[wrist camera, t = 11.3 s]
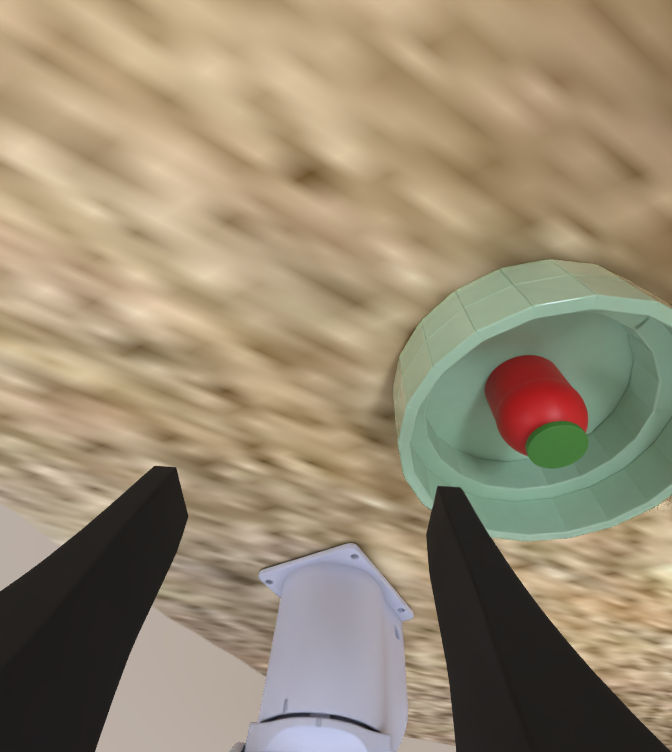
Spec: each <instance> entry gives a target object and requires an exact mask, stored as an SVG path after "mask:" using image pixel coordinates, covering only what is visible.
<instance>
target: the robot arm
mask: <svg viewBox="0 0 672 752" xmlns="http://www.w3.org/2000/svg"><path fill="white" fill-rule="evenodd" d="M187 519H188V513H187V509H186V505H185V501H184V497H183V493H182V489H181V485H180V481H179V477H178V473H177V469H176V467H163V466H154V467H153V468H152V469H151V470H149V471H148V472H147V473H146V474H145V475H144V476H142V477H141V478H140V479H139V480H138V481H137V482H136V483H135V484H133V485H132V486H131V487H130V488H129V489H128V490H127V491H126V492H124V493H123V494H122V495H121V496H120V497H119V498H118V499H117V500H115V501H114V502H113V503H112V504H111V505H110V506H109V507H108V508H106V509H105V510H104V511H103V512H102V513H101V514H99V515H98V516H97V517H96V518H95V519H94V520H92V521H91V522H90V523H89V524H88V525H87V526H85V527H84V528H83V529H82V530H81V531H79V532H78V533H77V534H76V535H75V536H73V537H72V538H71V539H70V540H68V541H67V542H66V543H65V544H63V545H62V546H61V547H60V548H58V549H57V550H56V551H55V552H53V553H52V554H51V555H50V556H48V557H47V558H46V559H44V560H43V561H42V562H41V563H39V564H38V565H37V566H35V567H34V568H33V569H31V570H30V571H29V572H27V573H26V574H24V575H23V576H22V577H20V578H19V579H18V580H16V581H14V582H13V583H12V584H10V585H9V586H8V587H6V588H5V589H3V590H2V591H0V752H95V750H96V747H97V744H98V741H99V738H100V735H101V732H102V729H103V726H104V723H105V721H106V718H107V715H108V712H109V709H110V706H111V703H112V700H113V697H114V695H115V692H116V689H117V687H118V684H119V681H120V679H121V676H122V673H123V670H124V668H125V665H126V662H127V660H128V657H129V654H130V652H131V650H132V647H133V645H134V643H135V640H136V638H137V636H138V633H139V631H140V629H141V627H142V625H143V623H144V621H145V619H146V616H147V615H148V612H149V610H150V608H151V606H152V604H153V602H154V600H155V598H156V596H157V593H158V591H159V589H160V587H161V585H162V583H163V581H164V579H165V576H166V574H167V572H168V570H169V568H170V566H171V563H172V561H173V559H174V557H175V555H176V552H177V549H178V547H179V544H180V541H181V538H182V535H183V532H184V529H185V525H186V522H187ZM426 536H427V550H428V562H429V573H430V579H431V584H432V590H433V595H434V600H435V606H436V611H437V616H438V622H439V627H440V632H441V637H442V643H443V648H444V653H445V659H446V664H447V671H448V677H449V684H450V693H451V703H452V712H453V722H454V731H455V742H456V752H671V751H670V750H669V749H668V748H667V747H666V746H665V745H664V744H663V743H662V742H661V741H660V740H659V739H658V738H657V737H656V736H655V735H654V734H653V733H652V732H651V731H650V730H649V729H648V728H647V727H646V726H645V725H644V724H643V723H642V722H641V721H640V720H639V719H638V718H637V717H636V716H635V715H634V714H633V713H632V712H631V711H630V710H629V709H628V708H627V707H626V706H625V704H624V703H623V702H622V701H621V700H620V699H619V698H618V697H617V696H616V695H615V694H614V693H613V692H612V691H611V690H610V689H609V688H608V686H607V685H606V684H605V683H604V682H603V681H602V680H601V679H600V678H599V677H598V676H597V675H596V674H595V673H594V672H593V670H592V669H591V668H590V667H589V666H588V665H587V664H586V662H585V661H584V660H583V659H582V658H581V657H580V656H579V654H578V653H577V652H576V651H575V650H574V649H573V647H572V646H571V645H570V644H569V643H568V642H567V640H566V639H565V638H564V637H563V636H562V634H561V633H560V632H559V631H558V629H557V628H556V627H555V626H554V625H553V623H552V622H551V621H550V620H549V618H548V617H547V616H546V615H545V613H544V612H543V611H542V609H541V608H540V607H539V606H538V604H537V603H536V602H535V600H534V599H533V598H532V596H531V595H530V594H529V592H528V591H527V589H526V588H525V587H524V585H523V584H522V583H521V581H520V580H519V578H518V577H517V576H516V574H515V573H514V571H513V570H512V568H511V567H510V565H509V564H508V563H507V561H506V560H505V558H504V557H503V555H502V554H501V552H500V551H499V549H498V548H497V546H496V545H495V543H494V541H493V540H492V538H491V537H490V535H489V534H488V532H487V530H486V529H485V527H484V525H483V524H482V522H481V520H480V519H479V517H478V515H477V514H476V512H475V510H474V509H473V507H472V505H471V503H470V502H469V500H468V498H467V496H466V494H465V493H464V491H463V490H462V489H461V487H450V486H437V490H436V494H435V499H434V503H433V507H432V512H431V516H430V521H429V525H428V530H427V534H426ZM258 578H259V579H260V580H261V581H262V582H263V583H264V584H265V585H266V586H267V587H268V588H270V589H271V590H272V591H273V592H274V593H275V594H276V595H277V596H278V597H279V598H280V605H279V610H278V616H277V621H276V626H275V632H274V637H273V643H272V648H271V653H270V659H269V664H268V670H267V675H266V681H265V686H264V691H263V697H262V702H261V708H260V713H259V719H258V723H255V722H251V723H250V725H249V730H248V736H247V741H246V743H241V742H238V743H236V744H235V745H234V746H233V747H232V749H231V750H230V752H396V751H397V750H398V748H399V746H400V744H401V741H402V739H403V736H404V734H405V730H406V725H407V720H408V698H407V684H406V669H405V654H404V639H403V625H402V621H407V620H410V619H412V618H413V611H412V609H411V608H410V607H409V606H408V605H407V604H406V602H405V601H404V600H403V599H402V598H401V596H400V595H399V594H398V593H397V592H396V591H395V589H394V588H393V587H392V586H391V585H390V583H389V582H388V581H387V580H386V579H385V578H384V576H383V575H382V574H381V573H380V572H379V570H378V569H377V568H376V567H375V566H374V565H373V563H372V562H371V561H370V560H369V559H368V557H367V556H366V555H365V554H364V553H363V552H362V550H361V549H360V548H359V547H358V546H357V545H356V544H354V543H347V544H344V545H341V546H337V547H334V548H331V549H328V550H325V551H321V552H318V553H315V554H312V555H308V556H305V557H302V558H299V559H295V560H292V561H289V562H286V563H282V564H279V565H276V566H273V567H269V568H266V569H263V570H261V571H260V572H259V576H258Z"/></svg>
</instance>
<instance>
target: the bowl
mask: <svg viewBox="0 0 672 752" xmlns="http://www.w3.org/2000/svg"><path fill="white" fill-rule="evenodd" d="M523 355H535V356H540V357H543V358H546V359H548V360H550V361H551V362H552V363H554V364H555V365H556V367H557V368H558V369H559V371H560V372H561V373H562V374H563V376H564V377H565V378H566V380H567V381H568V382H569V384H570V385H571V386H572V387H573V388H574V389H575V390H576V391H577V392H578V393H579V394H580V396H581V397H582V399H583V400H584V402H585V405H586V407H587V411H588V428H587V431H586V435H587V436H588V440H589V445H588V449H587V451H586V452H585V454H584V455H583V456H582V457H581V458H580V459H579V460H578V461H576V462H575V463H573V464H571V465H568V466H566V467H562V468H556V469H548V468H542V467H539V466H537V465H535V464H534V463H533V462H532V461H531V460H530V459H529V457H528V456H525V455H523V454H520V453H519V452H517V451H515V450H514V449H513V448H511V447H510V446H509V445H508V444H507V443H506V442H505V441H504V439H503V438H502V436H501V435H500V433H499V431H498V428H497V425H496V421H495V418H494V416H493V414H492V411H491V409H490V407H489V404H488V402H487V400H486V397H485V385H486V382H487V380H488V377H489V376H490V374H491V373H492V372H493V371H494V369H496V368H497V367H498V366H499V365H500V364H502V363H503V362H505V361H507V360H509V359H511V358H514V357H518V356H523ZM393 399H394V410H395V422H396V433H397V444H398V449H399V455H400V460H401V465H402V471H403V475H404V477H405V479H406V480H407V482H408V483H409V485H410V486H411V488H412V489H413V491H414V492H415V494H416V495H417V497H418V498H419V500H420V501H421V503H423V505H425V506H426V507H427V508H429V509H430V510H432V507H433V503H434V499H435V494H436V490H437V486H450V487H461V489H462V490H463V491H464V493H465V494H466V496H467V498H468V500H469V502H470V503H471V505H472V507H473V509H474V510H475V512H476V514H477V515H478V517H479V519H480V520H481V522H482V524H483V525H484V527H485V529H486V530H487V532H488V534H489V535H490V537H492V538H500V539H508V540H517V541H540V540H554V539H567V538H572V537H576V536H580V535H584V534H588V533H591V532H595V531H599V530H603V529H607V528H610V527H613V526H616V525H618V524H620V523H622V522H625V521H627V520H629V519H631V518H633V517H635V516H637V515H639V514H642V513H644V512H646V511H648V510H650V509H652V508H654V507H655V506H658V505H659V504H660V503H662V502H663V501H664V500H666V499H667V498H668V497H670V496H671V495H672V305H670V304H668V303H667V302H665V301H663V300H662V299H660V298H658V297H657V296H655V295H653V294H652V293H650V292H648V291H647V290H645V289H643V288H642V287H640V286H638V285H637V284H635V283H633V282H631V281H629V280H627V279H625V278H623V277H621V276H619V275H617V274H615V273H614V272H612V271H610V270H608V269H606V268H604V267H602V266H600V265H597V264H589V263H580V262H571V261H563V260H554V259H550V260H549V259H547V260H542V261H536V262H531V263H525V264H520V265H515V266H509V267H504V268H500V269H498V270H496V271H494V272H491V273H489V274H487V275H485V276H483V277H481V278H479V279H477V280H475V281H473V282H471V283H469V284H467V285H465V286H463V287H461V288H459V289H457V290H456V291H454V292H452V293H451V294H450V295H449V296H448V297H447V298H446V299H445V300H443V301H442V302H441V303H440V304H439V305H438V306H437V307H436V308H435V309H433V310H432V311H431V312H430V313H429V314H428V315H427V316H426V317H424V318H423V319H422V320H421V322H419V324H418V326H417V327H416V329H415V331H414V332H413V334H412V336H411V337H410V339H409V341H408V342H407V344H406V345H405V347H404V349H403V350H402V352H401V354H400V356H399V360H398V365H397V370H396V375H395V379H394V384H393Z"/></svg>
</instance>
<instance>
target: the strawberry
mask: <svg viewBox="0 0 672 752" xmlns="http://www.w3.org/2000/svg"><path fill="white" fill-rule="evenodd" d="M485 397H486V400H487V402H488V404H489V407H490V409H491V411H492V414H493V416H494V418H495V421H496V425H497V428H498V431H499V433H500V435H501V436H502V438H503V439H504V441H505V442H506V443H507V444H508V445H509V446H510V447H511V448H513V449H514V450H515V451H517V452H519V453H520V454H523V455H525V456H528V457H529V459H530V460H531V461H532V462H533V463H534V464H535V465H537V466H539V467H542V468H548V469H556V468H562V467H566V466H568V465H571V464H573V463H575V462H576V461H578V460H579V459H580V458H581V457H582V456H583V455H584V454H585V452H586V451H587V449H588V445H589V440H588V436H587V435H586V431H587V428H588V411H587V407H586V405H585V402H584V400H583V399H582V397H581V396H580V394H579V393H578V392H577V391H576V390H575V389H574V388H573V387H572V386H571V385H570V384H569V382H568V381H567V380H566V378H565V377H564V376H563V374H562V373H561V372H560V371H559V369H558V368H557V367H556V365H555V364H554V363H552V362H551V361H550V360H548V359H546V358H543V357H540V356H535V355H523V356H518V357H514V358H511V359H509V360H507V361H505V362H503V363H502V364H500V365H499V366H498V367H497V368H496V369H494V371H493V372H492V373H491V374H490V376H489V377H488V380H487V382H486V385H485Z"/></svg>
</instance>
